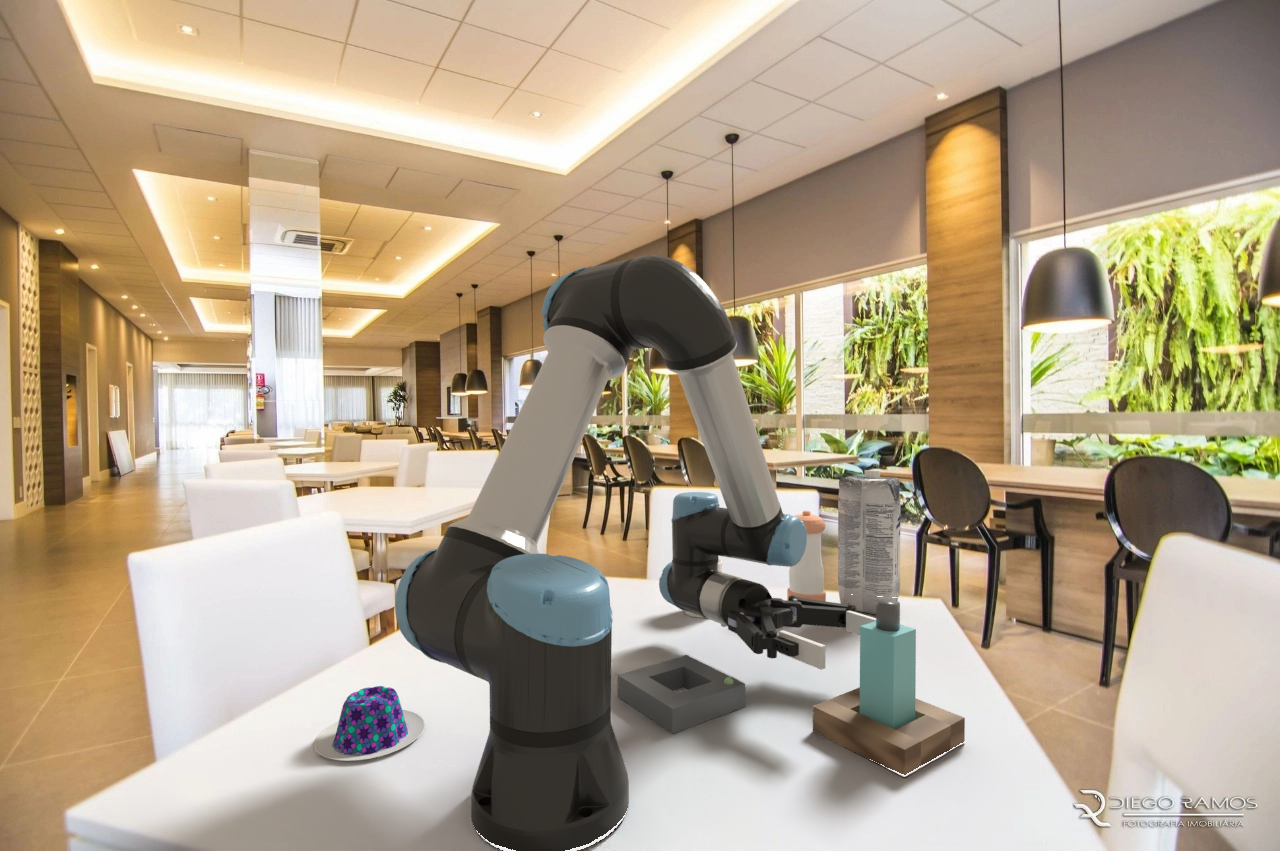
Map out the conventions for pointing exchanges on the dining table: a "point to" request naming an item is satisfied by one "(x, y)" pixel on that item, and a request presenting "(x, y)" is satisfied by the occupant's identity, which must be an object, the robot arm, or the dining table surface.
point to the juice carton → (868, 540)
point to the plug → (888, 667)
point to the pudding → (369, 726)
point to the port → (685, 709)
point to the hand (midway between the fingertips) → (858, 645)
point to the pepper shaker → (809, 563)
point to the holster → (889, 732)
